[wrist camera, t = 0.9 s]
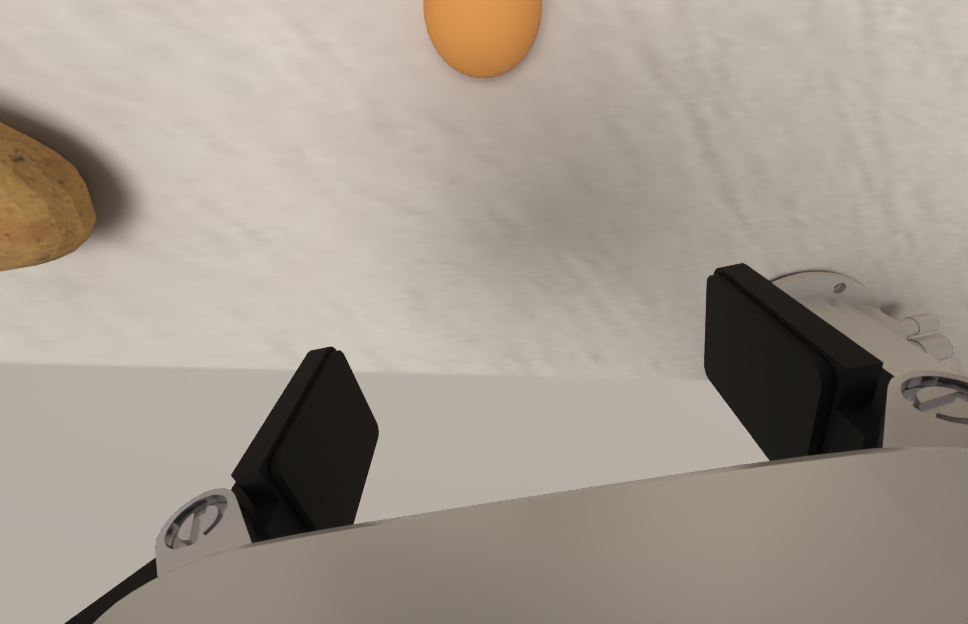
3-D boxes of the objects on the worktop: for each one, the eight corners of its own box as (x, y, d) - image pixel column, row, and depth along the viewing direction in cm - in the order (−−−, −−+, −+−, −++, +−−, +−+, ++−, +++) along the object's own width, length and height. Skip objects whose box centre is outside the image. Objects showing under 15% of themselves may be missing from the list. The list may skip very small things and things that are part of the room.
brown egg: (521, -67, 22) (532, -111, 17) (545, 59, 25) (560, 54, 20) (415, -27, 23) (395, -58, 18) (449, 91, 26) (440, 94, 21)
